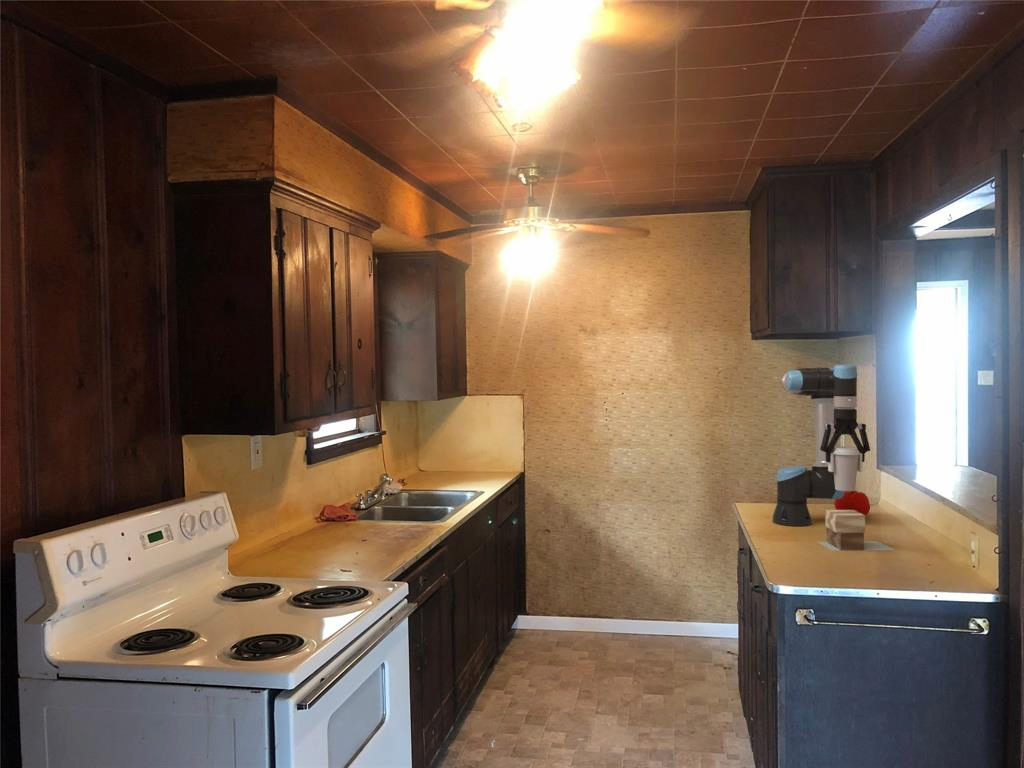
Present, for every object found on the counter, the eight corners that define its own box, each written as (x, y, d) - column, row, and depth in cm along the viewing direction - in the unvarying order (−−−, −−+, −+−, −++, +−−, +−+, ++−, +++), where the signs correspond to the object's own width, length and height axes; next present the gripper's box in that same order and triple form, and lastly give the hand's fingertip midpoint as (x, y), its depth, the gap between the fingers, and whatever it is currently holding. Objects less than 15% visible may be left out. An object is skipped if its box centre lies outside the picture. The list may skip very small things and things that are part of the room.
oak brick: (825, 526, 274) (825, 509, 274) (853, 526, 274) (853, 509, 273) (835, 532, 264) (835, 515, 264) (864, 532, 264) (864, 515, 263)
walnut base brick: (826, 542, 275) (826, 525, 275) (848, 542, 275) (848, 525, 275) (840, 550, 263) (840, 533, 263) (863, 550, 263) (863, 533, 263)
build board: (817, 544, 276) (817, 541, 276) (877, 544, 276) (877, 541, 276) (832, 553, 263) (832, 550, 263) (895, 553, 263) (895, 549, 263)
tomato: (868, 521, 317) (868, 493, 316) (832, 518, 324) (832, 490, 323) (871, 515, 328) (871, 488, 328) (836, 512, 335) (836, 486, 335)
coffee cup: (862, 492, 263) (863, 449, 262) (833, 491, 265) (833, 448, 264) (856, 487, 272) (856, 446, 272) (827, 487, 274) (828, 445, 274)
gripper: (818, 409, 264) (818, 473, 264) (881, 408, 264) (881, 472, 264) (809, 407, 272) (809, 470, 272) (871, 407, 271) (871, 469, 272)
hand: (845, 471), depth 268 cm, fingers closed on coffee cup, 9 cm apart
